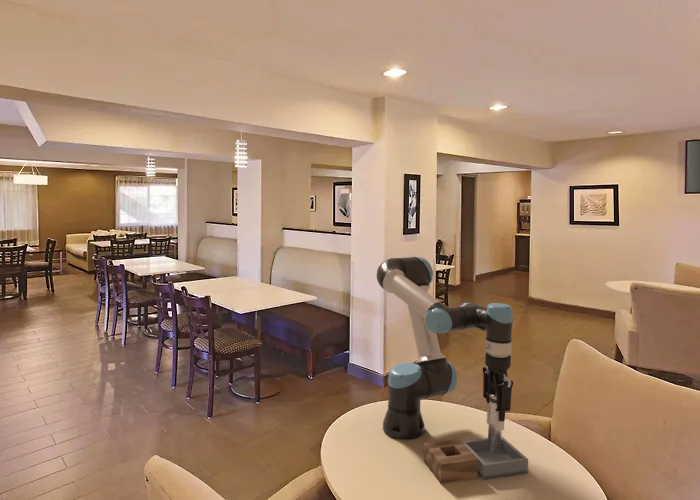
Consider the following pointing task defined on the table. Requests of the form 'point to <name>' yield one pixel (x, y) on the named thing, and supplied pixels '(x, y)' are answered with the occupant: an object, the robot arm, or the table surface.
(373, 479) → the table surface
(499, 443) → the pin
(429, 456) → the wooden square socket block
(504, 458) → the tray
